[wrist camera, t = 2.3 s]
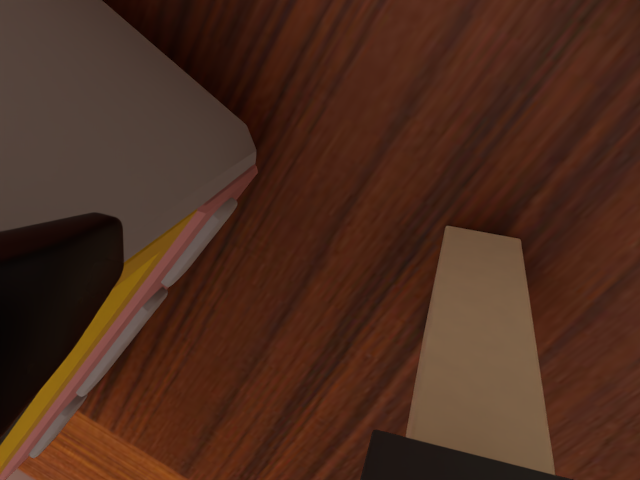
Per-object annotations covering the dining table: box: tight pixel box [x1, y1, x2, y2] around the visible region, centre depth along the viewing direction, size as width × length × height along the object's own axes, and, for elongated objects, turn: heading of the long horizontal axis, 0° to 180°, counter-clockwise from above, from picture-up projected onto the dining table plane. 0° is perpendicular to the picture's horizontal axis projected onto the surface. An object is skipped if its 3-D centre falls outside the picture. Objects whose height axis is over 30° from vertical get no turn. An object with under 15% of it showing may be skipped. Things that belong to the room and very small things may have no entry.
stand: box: [406, 226, 555, 475], centre depth 17 cm, size 3×5×13 cm, turn 174°
